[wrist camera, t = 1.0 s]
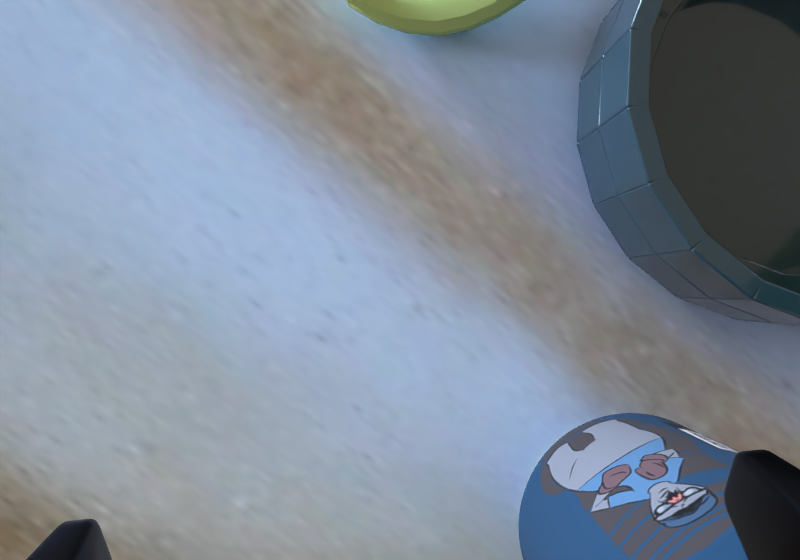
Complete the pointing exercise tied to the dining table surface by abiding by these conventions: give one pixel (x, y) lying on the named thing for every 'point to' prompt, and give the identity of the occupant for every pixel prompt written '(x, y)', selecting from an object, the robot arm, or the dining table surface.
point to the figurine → (433, 14)
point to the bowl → (700, 148)
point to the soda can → (630, 495)
